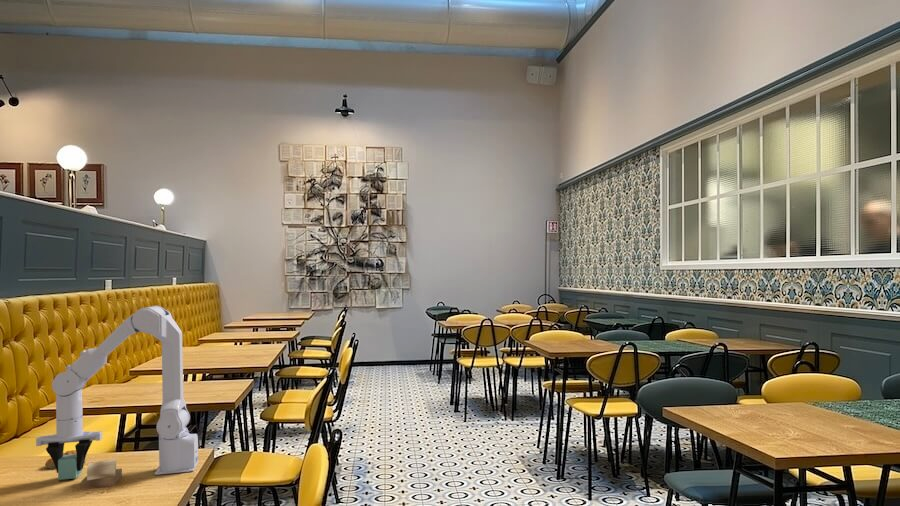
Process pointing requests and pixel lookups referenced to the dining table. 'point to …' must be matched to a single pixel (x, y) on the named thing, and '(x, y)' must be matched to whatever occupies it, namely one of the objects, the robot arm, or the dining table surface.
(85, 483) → the tower base
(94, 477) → the tower top
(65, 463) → the teal block
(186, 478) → the dining table surface
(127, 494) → the dining table surface
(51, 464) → the pastry
